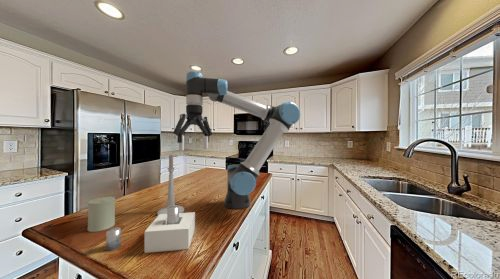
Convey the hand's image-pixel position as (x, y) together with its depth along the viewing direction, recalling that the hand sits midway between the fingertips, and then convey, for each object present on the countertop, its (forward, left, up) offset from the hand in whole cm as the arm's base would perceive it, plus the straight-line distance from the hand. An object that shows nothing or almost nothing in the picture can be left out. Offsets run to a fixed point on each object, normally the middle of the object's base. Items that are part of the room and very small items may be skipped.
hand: (194, 149), depth 85 cm
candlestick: (+13, -9, -33) cm, 37 cm away
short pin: (+24, +20, -33) cm, 45 cm away
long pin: (+5, +18, -33) cm, 38 cm away
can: (+38, +3, -33) cm, 50 cm away
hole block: (+5, +18, -33) cm, 38 cm away
